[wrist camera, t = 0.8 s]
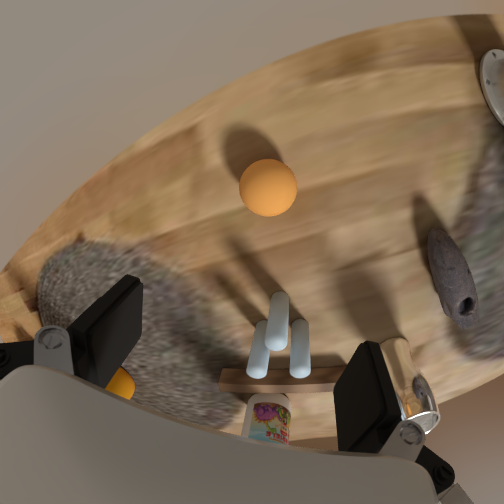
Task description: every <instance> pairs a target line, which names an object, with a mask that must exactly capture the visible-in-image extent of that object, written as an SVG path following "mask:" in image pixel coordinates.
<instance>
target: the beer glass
mask: <svg viewBox="0 0 504 504" xmlns="http://www.w3.org/2000/svg"><path fill="white" fill-rule="evenodd" d="M380 348H381V351H382V354H383V356H384V359H385V362H386V365H387V368H388V371H389V374H390V377H391V380H392V383H393V386H394V390H395V393H396V396H397V399H398V403H399V406H400V409H401V413H402V416H401V417H402V421H403V420H411V421H414V422H416V423H417V424H419V425H420V426H421V428H422V429H423V430H424V433H425V434H426V433H428V432H429V431H431V430H432V429H433V428H434V427H435V426H436V425H437V424H438V422H439V421H440V413H439V410H438V406H437V402H436V399H435V396H434V393H433V390H432V388H431V386H430V384H429V382H428V381H427V379H426V377H425V376H424V375H423V373H422V372H421V370H420V369H419V368H418V366H417V365H416V364H415V362H414V360H413V358H412V355H411V350H410V345H409V343H408V342H407V340H405V339H403V338H399V337H396V338H391V339H388V340H386V341H384V342H383V343H381V344H380Z"/></svg>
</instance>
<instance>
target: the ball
mask: <svg viewBox="0 0 504 504" xmlns="http://www.w3.org/2000/svg"><path fill="white" fill-rule="evenodd" d="M239 191H240V196H241V199H242V201H243V202H244V204H245V205H246V206H247V208H249V209H250V210H251V211H252V212H254V213H256V214H258V215H262V216H275V215H278V214H281V213H283V212H284V211H286V210H287V209H288V208H289V207H290V206H291V205H292V203H293V202H294V200H295V197H296V194H297V181H296V178H295V176H294V174H293V172H292V171H291V169H290V168H289V167H288V166H286V165H285V164H284V163H282V162H280V161H277V160H274V159H262V160H259V161H256V162H254V163H252V164H251V165H250V166H248V167H247V169H246V170H245V171H244V172H243V174H242V176H241V179H240V183H239Z"/></svg>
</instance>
